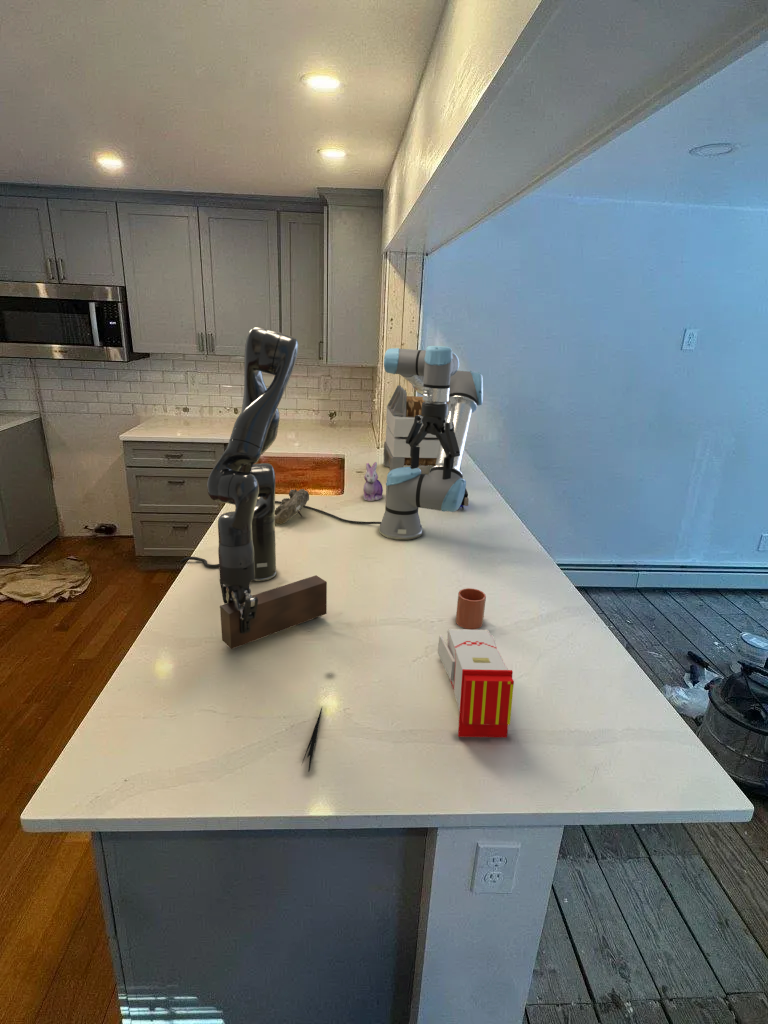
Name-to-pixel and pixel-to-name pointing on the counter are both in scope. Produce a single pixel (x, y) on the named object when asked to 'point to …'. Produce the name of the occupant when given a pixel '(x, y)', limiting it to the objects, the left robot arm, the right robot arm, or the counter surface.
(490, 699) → the toy
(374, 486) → the figurine
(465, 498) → the figurine character
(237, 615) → the walnut box
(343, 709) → the counter surface
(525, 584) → the counter surface
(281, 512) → the fossil
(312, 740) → the feather
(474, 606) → the terracotta cup
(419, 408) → the light grey boxy piece
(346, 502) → the counter surface
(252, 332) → the left robot arm
